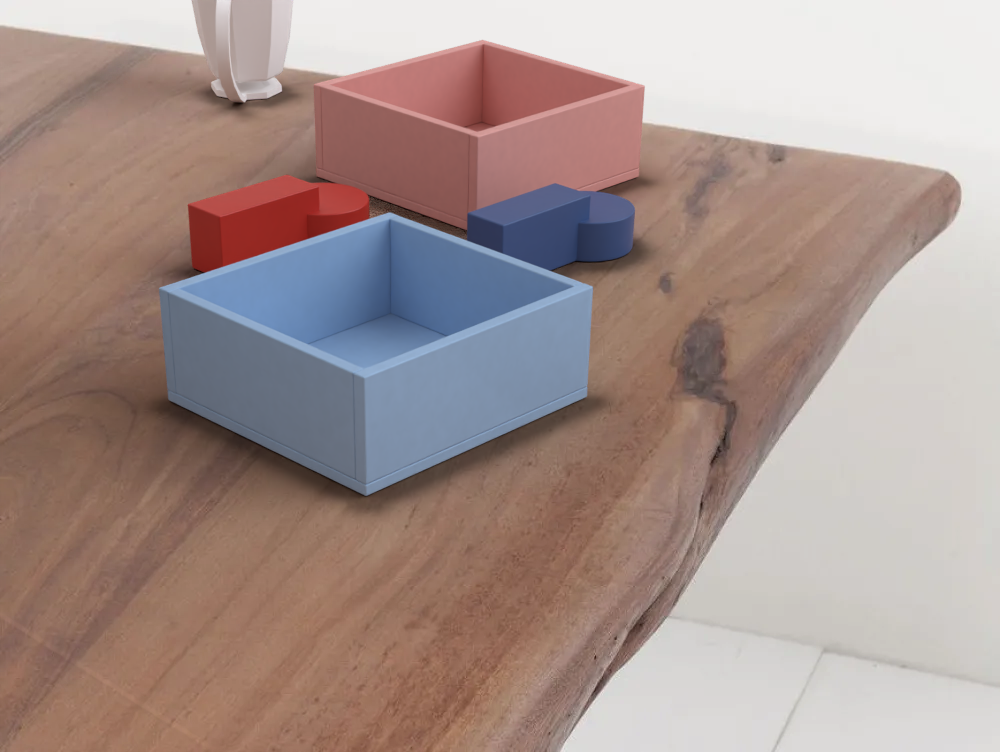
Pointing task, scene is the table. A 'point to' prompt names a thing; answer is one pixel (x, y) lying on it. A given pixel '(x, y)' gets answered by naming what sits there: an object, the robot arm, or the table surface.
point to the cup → (244, 45)
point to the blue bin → (376, 348)
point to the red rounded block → (269, 218)
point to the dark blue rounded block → (555, 226)
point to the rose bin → (476, 129)
